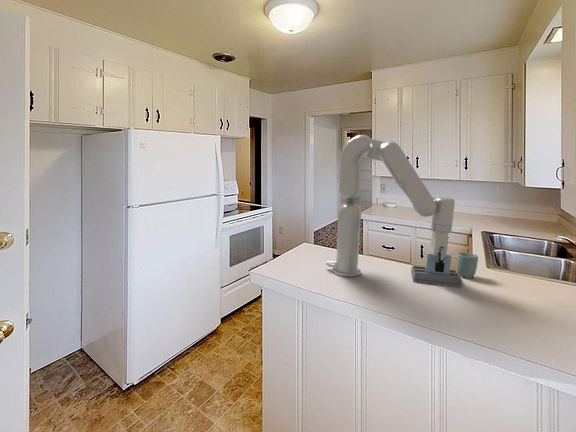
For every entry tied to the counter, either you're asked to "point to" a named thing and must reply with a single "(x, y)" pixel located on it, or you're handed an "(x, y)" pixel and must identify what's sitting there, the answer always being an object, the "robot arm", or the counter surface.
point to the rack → (435, 277)
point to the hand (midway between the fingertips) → (437, 267)
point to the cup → (467, 264)
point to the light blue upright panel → (432, 261)
